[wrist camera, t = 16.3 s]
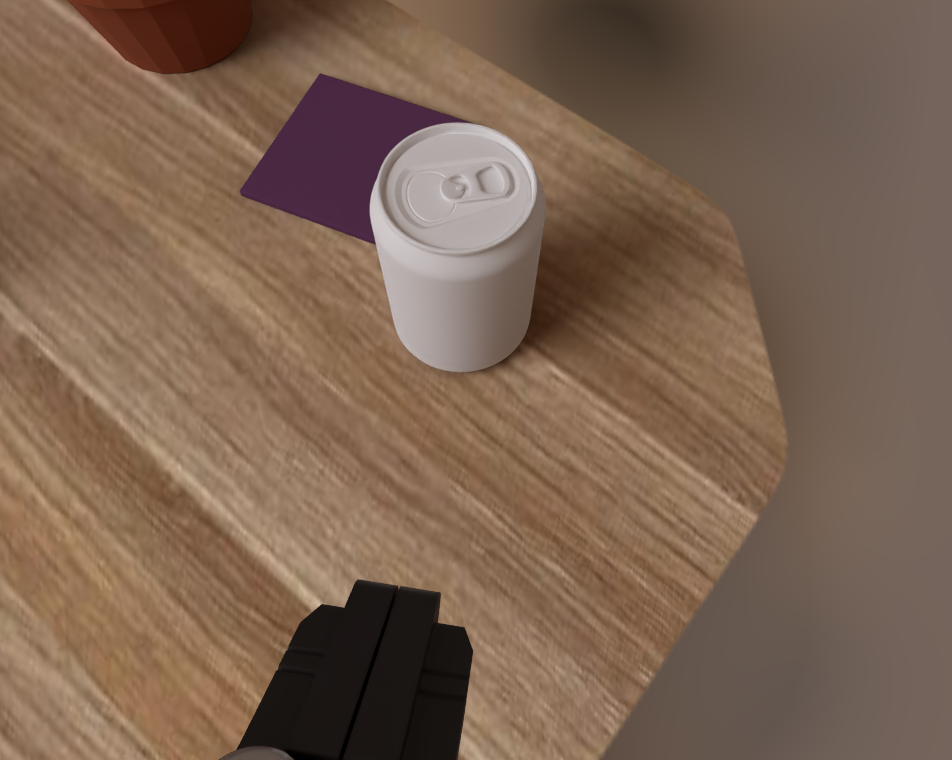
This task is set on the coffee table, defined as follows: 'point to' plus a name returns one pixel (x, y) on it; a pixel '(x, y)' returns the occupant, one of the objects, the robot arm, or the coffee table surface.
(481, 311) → the beverage can
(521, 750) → the coffee table surface
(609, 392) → the coffee table surface
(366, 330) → the coffee table surface
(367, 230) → the cloth
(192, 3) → the potted plant
